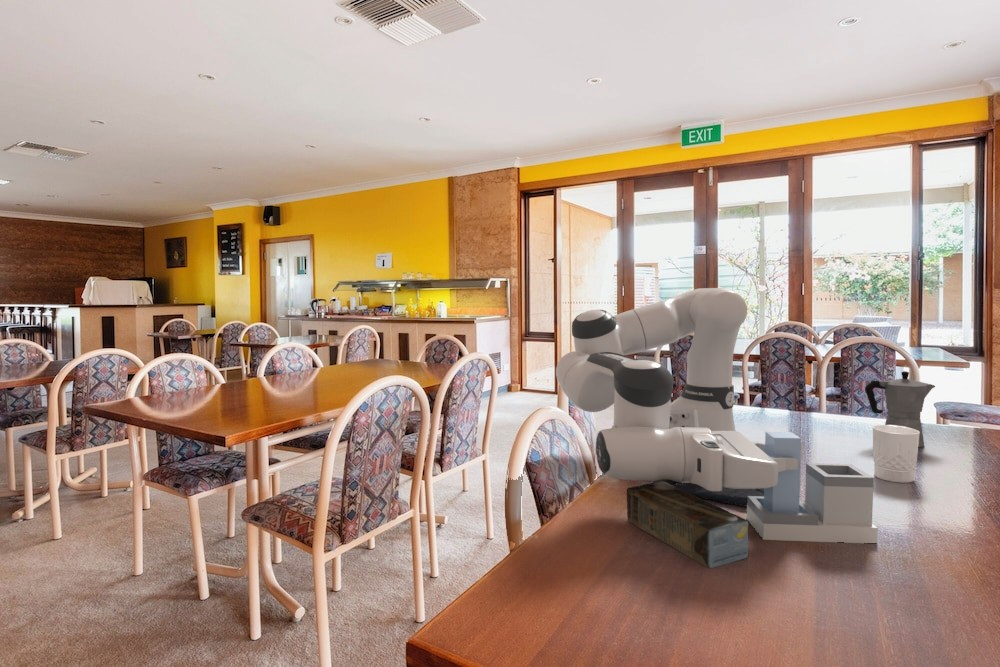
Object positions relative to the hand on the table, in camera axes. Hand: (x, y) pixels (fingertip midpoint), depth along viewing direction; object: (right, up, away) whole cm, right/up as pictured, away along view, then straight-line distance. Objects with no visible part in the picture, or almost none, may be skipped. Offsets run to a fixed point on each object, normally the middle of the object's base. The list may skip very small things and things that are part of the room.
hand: (788, 456), depth 93 cm
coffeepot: (+53, -8, +52) cm, 75 cm away
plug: (-1, -9, +1) cm, 10 cm away
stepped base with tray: (+4, -12, +1) cm, 13 cm away
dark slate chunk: (-5, -11, +20) cm, 24 cm away
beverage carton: (-17, -13, -2) cm, 22 cm away
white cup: (+35, -10, +26) cm, 44 cm away
